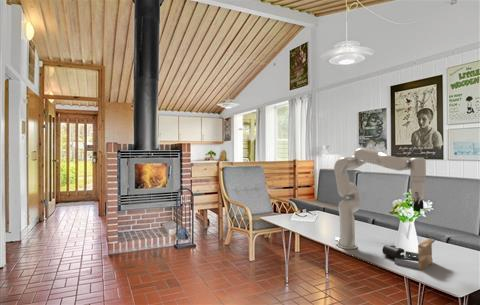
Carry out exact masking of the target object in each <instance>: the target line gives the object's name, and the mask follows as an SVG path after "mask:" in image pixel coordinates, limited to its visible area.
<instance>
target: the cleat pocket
mask: <svg viewBox="0 0 480 305" xmlns="http://www.w3.org/2000/svg"><path fill="white" fill-rule="evenodd" d="M404 253H405V257H407V258H410V259H416V260H418V252H413V251H409V250H406V251H405V250H404ZM409 255H410V256H409ZM413 256H416V257H413ZM394 264H395V265H398V266H403V267H406V268H411V269H415V270H419V269H418V262H415V261H410V260H405V259H404V260H402V259H398V258H395V259H394Z"/></svg>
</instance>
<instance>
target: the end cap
mask: <svg viewBox="0 0 480 305" xmlns="http://www.w3.org/2000/svg"><path fill="white" fill-rule="evenodd" d="M381 251H382V254H383V255H384V256H386V257H388V258H391V259H393V260H395V258H398V259H402V260H405V259H404V258H405V254H404V253H405V249H404V248H401V247H397V246H395V245H388V244H385V245H383V247H382V250H381Z"/></svg>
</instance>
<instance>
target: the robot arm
mask: <svg viewBox="0 0 480 305" xmlns="http://www.w3.org/2000/svg"><path fill="white" fill-rule="evenodd" d="M367 163H368V164H371V165H375V166H379V167H381V168H382V167H383V168H385V169H388V170H389V169H390V170H395V171H399V172H401V171H409V172H410V183H411V198H410V199H411V201H413V203H412V204H413V212H421V210H423V209H424V198H425V183H427V173H426V172H427V169H426V168H427V165H426V164H427V162H426V159H425V158H423V157H404V156H402V157H398V156H394V155H388V154H385V153H384V152H383V151H379V150H374V149H371V148H368V147H359V148H357V149H355V151H354V154H353V155H352V156H344V157H339V159H337V160H336V161H335V163H334V167H333V170H334V172H333V173H334V175H335V181H336V188H337V193H338V195H339V196H340V197H342V198H345V199H342V200H341V201H339V203H338V207H337V209H338V214H339V237H335V238H334V242H337V246H338V247H339V248H341V249H346V250H354V249H357V248H358V246H359V245H358V244H356V224H355V223H356V221H355V216H354V213H355V212H357V211H359V210H360V208H361V200H360V193H359V189H358V187H357V184H356V183H354V182H351V181H350V176H349V173H348V170H354V169H355V170H356V169H358V168H359V167H361V166H363V165H365V164H367Z"/></svg>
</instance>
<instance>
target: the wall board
mask: <svg viewBox="0 0 480 305" xmlns="http://www.w3.org/2000/svg"><path fill="white" fill-rule="evenodd" d="M435 242H436V239H433V238H427V239H425V240H424V241H422V242H421V243H419V244H417V246H418V247H417V253H418V259H417V260H418V262H417V263H418V269H417V270H419V271H423V270H424V269H426V267H428V266H429V265H430V264H431V263H432V262H433V252H432V251H433V248H432V247H433V246H432V245H433V243H435Z"/></svg>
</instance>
